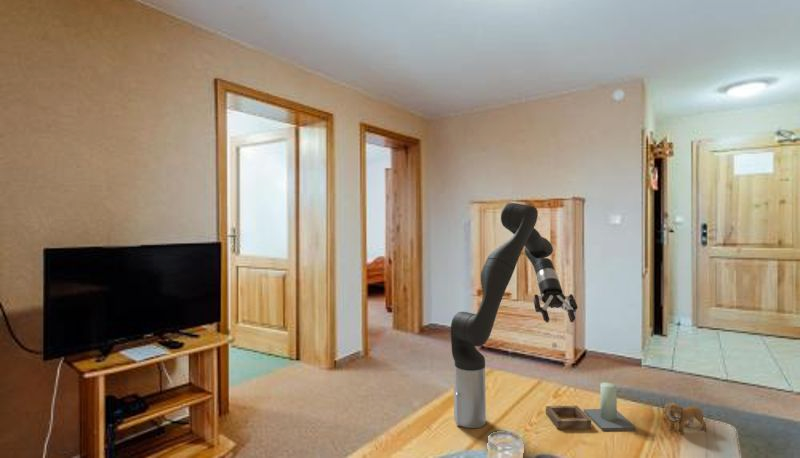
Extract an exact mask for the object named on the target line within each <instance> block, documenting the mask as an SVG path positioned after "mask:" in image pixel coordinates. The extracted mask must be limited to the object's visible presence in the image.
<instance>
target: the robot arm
mask: <svg viewBox="0 0 800 458" xmlns="http://www.w3.org/2000/svg"><path fill="white" fill-rule="evenodd" d="M538 213H539V212H538V209H537V208H536V207H535V206H534V205H531V204H522V203H518V202H517V203H516V202H509V203H507V204H505V205H504V206H503V208H502V210H501V214H500V222H501V224H502V227H504V228H505V229H507V230H508V231H509V232H510V233H512V234H513V235H512V237H511V238H510V239H508V240H507V241H506V242H504V243H503V244H501V245H500V246H498V247H496V248H495V249H494V250H493V251H492V252H491V253H490V254H489V255H488V256H487V259H486V260H485V263H484V265H483V267H482V269H481V272H480V285H481V290H482V292H481V293H482V297H481V298H482V299H481V302H480V305H479V307H478V310H477V311H476V313H474V312H473V313H472V312H469V311H468V312H467V311H458V312H457V313H456V314H455V315H453V317H452V319H451V324H450V342H451V346H450V347H451V355H452V358H453V361H454V387H453V418H454V421H455V424H456V427H463V428H467V429H479V428H482V427H484V426H485V424H487V418H486V417H487V414H486V411H487V410H486V409H487V408H486V405H487V404H486V403H487V402H486V398H487V397H486V359H485V356H484V355H483V354H482V353H481V352H480V351H479V350H478V349H477V348H476V347H482V346H483V345H485V344H486V343H487V342H488V340H489V338H490V336H491V333H492V330H493V327H494V324H495V321H496V317H497V314H498V312H499V311H498V310H499V308H500V304H501V302H502V300H503V297H504V295H505V292H506V290H507V288H508V285H509V283H510V281H511V279H512V277H513V274H514V272H515V269H516V266H517V264H518V261H519V259H520V256H521V254H522V251H523V249H524V254H525V256H526V258H527V259H528V261H529V262H530V263H531V264H532V266H533V269H534V272H535V276H536V281H537V287H538V289H539V292H540V295H538V294H535V295H534V296H533V305H534V310H535V312H536V313H541V315H542V319H543V321H544V322H545V323H549V322H550V316H549V313H548V308H550V309H554V308H557V309H561V310H563V311H565V312H566V313H567V315H568V318H569V322H570V323H574V321H575V320H576V316H575V313H576V312H577V310H578V305H577V301H576V300H575V296H574V295H573V294H572V293H570V294H569V295H565V294H564V293H563V289H562V285H561V283H560V280H559V276H558V274H557V272H556V271H555V266H554V265H553V262H552V260H551V259H550V258H549V256H551V255H552V254H553V250H554V247H553V245H552V243H551V241H549V240H548V239H547V238H545V237H543V236H541V234H540V232H539V231H538V230H537V229H536V228H535V226H536V224H537V221H538V215H539V214H538ZM540 302H543V304H544V305H543V307H542V306H541V304H540Z"/></svg>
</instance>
